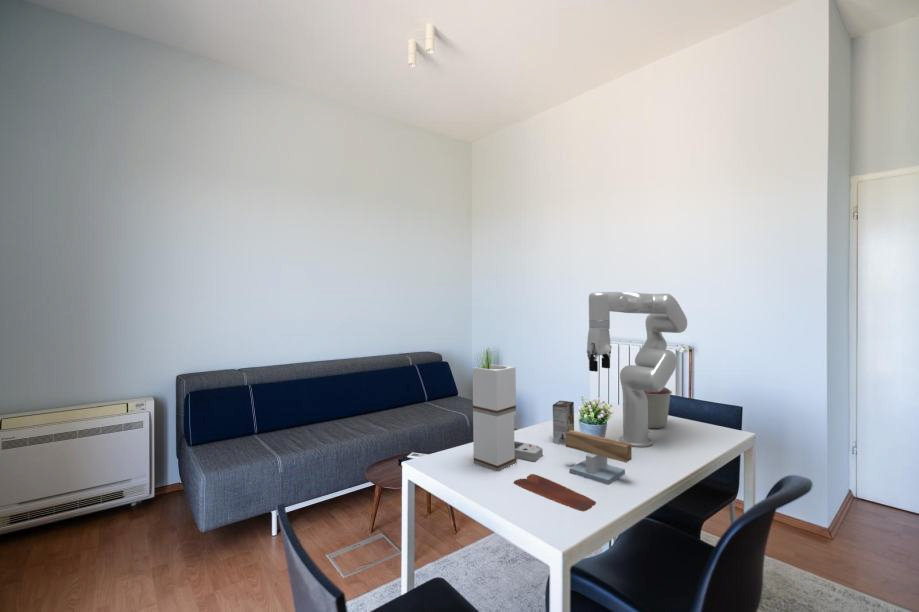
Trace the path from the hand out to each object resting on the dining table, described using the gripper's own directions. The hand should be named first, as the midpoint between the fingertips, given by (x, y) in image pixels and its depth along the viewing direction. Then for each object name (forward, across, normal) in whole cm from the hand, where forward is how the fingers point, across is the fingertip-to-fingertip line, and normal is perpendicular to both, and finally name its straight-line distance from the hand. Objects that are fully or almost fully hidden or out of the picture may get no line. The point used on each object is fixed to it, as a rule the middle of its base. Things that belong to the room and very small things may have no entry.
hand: (599, 369), depth 164 cm
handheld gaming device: (+33, +22, -21) cm, 45 cm away
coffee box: (+32, -3, -18) cm, 37 cm away
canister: (+32, -50, -1) cm, 60 cm away
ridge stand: (+32, +18, +8) cm, 38 cm away
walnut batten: (+25, +18, +8) cm, 32 cm away
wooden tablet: (+33, +40, +6) cm, 53 cm away
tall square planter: (+32, +35, -23) cm, 53 cm away
